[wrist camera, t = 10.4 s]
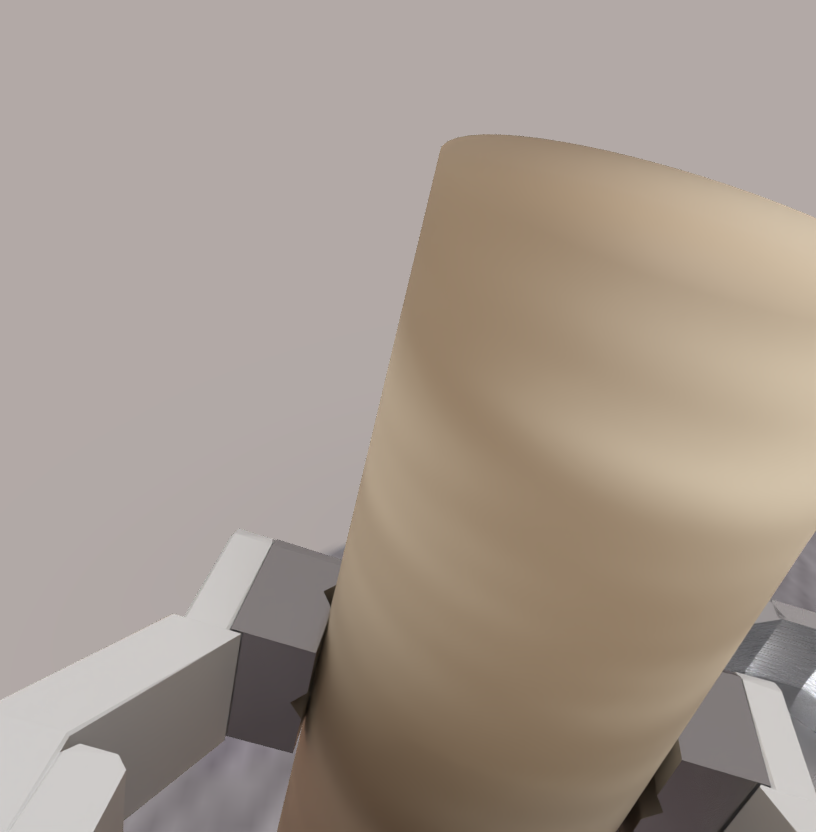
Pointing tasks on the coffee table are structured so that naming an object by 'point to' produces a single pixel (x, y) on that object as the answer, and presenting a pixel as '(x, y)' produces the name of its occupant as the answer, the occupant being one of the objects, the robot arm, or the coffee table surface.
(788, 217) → the rail post
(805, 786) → the robot arm
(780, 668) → the cup bracket
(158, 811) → the coffee table surface
